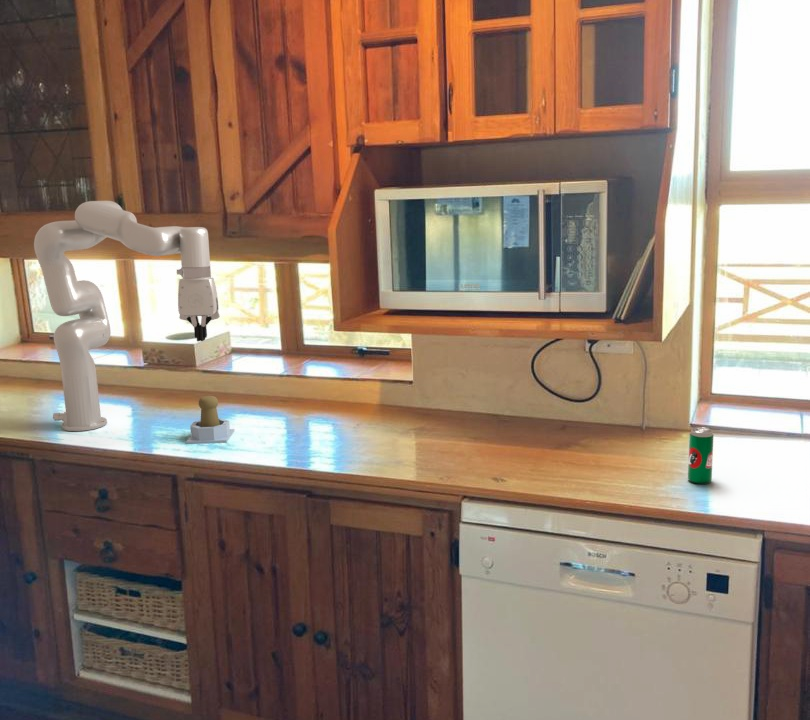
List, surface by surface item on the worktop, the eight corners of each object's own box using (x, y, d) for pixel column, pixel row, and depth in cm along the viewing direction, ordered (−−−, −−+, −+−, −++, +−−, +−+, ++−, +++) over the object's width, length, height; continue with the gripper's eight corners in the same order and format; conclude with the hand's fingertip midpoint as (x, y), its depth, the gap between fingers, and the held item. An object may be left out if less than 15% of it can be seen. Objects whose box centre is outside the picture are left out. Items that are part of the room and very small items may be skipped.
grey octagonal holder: (186, 443, 233) (185, 429, 232) (195, 432, 244) (194, 418, 243) (226, 442, 233) (225, 428, 232) (234, 431, 244) (233, 417, 243)
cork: (224, 431, 241) (221, 393, 239) (218, 437, 235) (215, 399, 233) (203, 432, 242) (200, 394, 240) (196, 438, 236) (193, 399, 234)
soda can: (711, 486, 189) (713, 433, 187) (686, 483, 191) (688, 431, 188) (711, 478, 194) (714, 427, 191) (688, 476, 195) (690, 425, 193)
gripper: (164, 275, 227) (170, 343, 231) (221, 274, 227) (225, 342, 231) (172, 272, 235) (177, 338, 238) (227, 271, 234) (231, 337, 238)
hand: (201, 340), depth 235 cm, fingers closed
